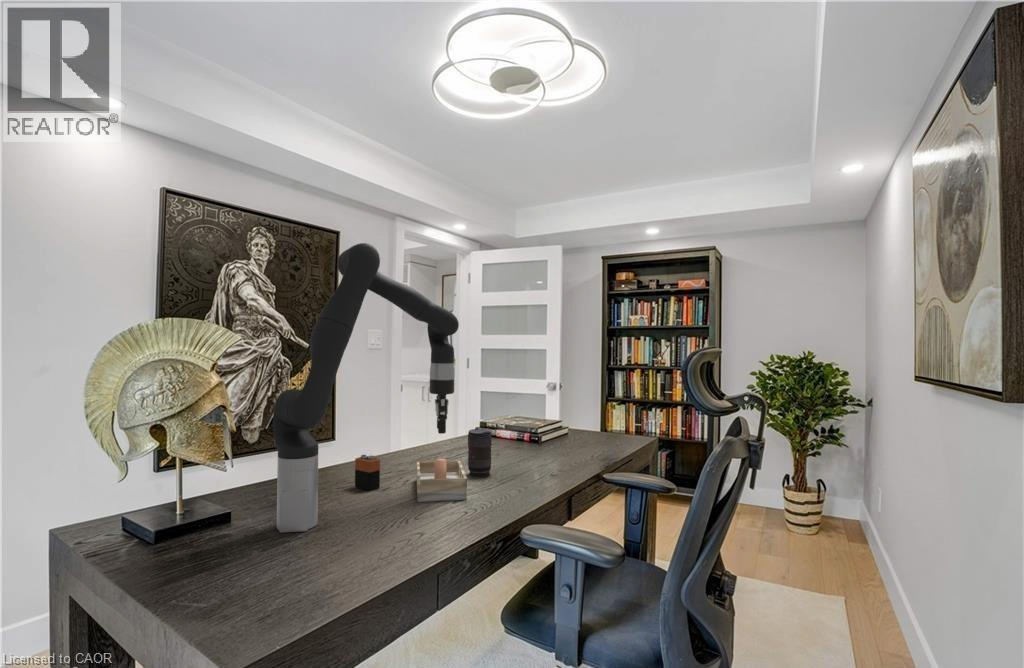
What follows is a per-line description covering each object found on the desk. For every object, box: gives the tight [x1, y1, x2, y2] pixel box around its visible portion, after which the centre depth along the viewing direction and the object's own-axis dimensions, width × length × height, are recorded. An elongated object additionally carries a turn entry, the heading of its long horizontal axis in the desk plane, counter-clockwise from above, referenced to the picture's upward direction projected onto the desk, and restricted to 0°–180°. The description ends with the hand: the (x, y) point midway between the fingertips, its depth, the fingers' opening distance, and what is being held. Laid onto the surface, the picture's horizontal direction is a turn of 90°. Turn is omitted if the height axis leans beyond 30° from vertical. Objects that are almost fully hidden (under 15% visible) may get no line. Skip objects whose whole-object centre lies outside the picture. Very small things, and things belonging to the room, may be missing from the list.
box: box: [416, 460, 468, 503], centre depth 157 cm, size 22×14×6 cm, turn 11°
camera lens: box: [467, 428, 493, 478], centre depth 174 cm, size 8×8×15 cm
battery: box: [354, 454, 381, 492], centre depth 158 cm, size 4×7×10 cm, turn 58°
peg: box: [434, 458, 447, 479], centre depth 157 cm, size 4×4×9 cm
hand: (441, 430), depth 157 cm, fingers open, 8 cm apart
